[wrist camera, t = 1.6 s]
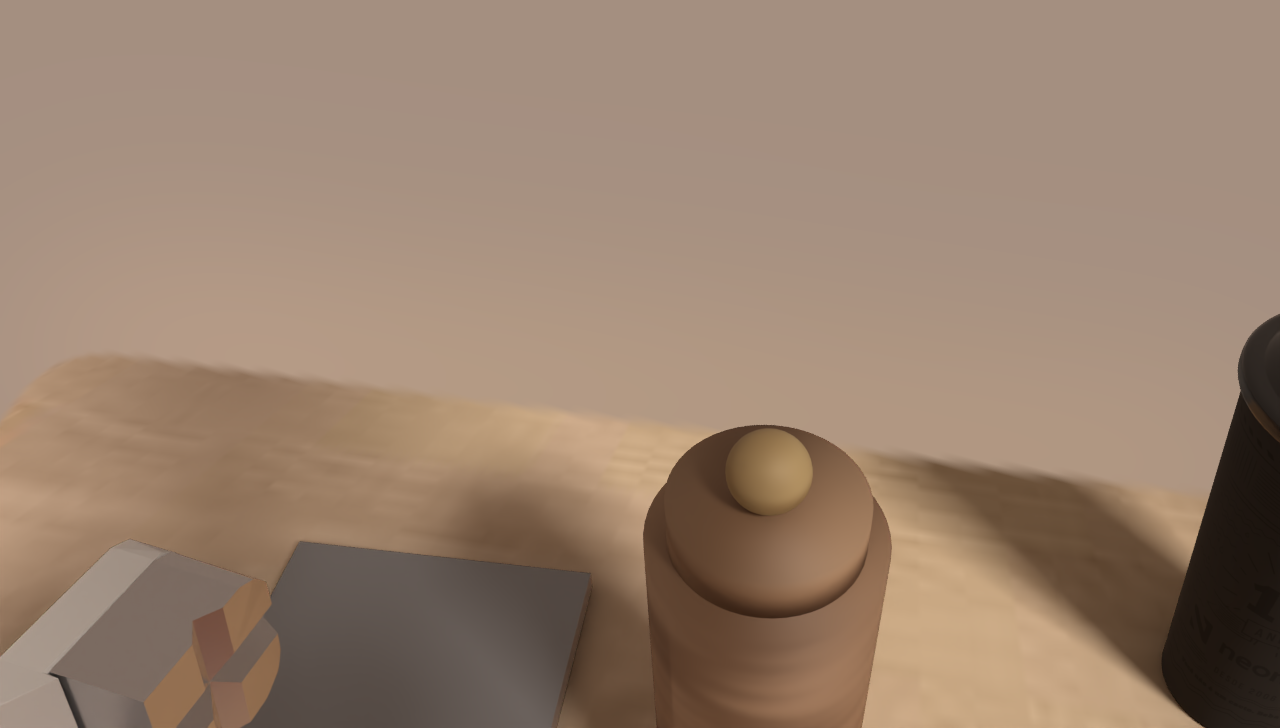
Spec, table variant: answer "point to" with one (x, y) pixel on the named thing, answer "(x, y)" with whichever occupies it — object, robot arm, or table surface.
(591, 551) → the table surface
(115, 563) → the robot arm
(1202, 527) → the drinking cup
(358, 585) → the trivet
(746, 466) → the pepper mill
